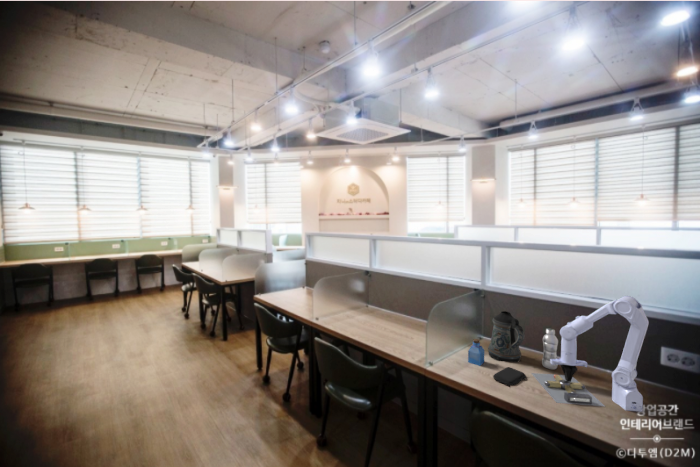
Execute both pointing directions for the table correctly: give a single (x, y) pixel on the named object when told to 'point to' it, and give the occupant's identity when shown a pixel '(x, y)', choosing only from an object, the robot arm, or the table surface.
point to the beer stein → (506, 338)
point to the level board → (559, 393)
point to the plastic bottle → (549, 348)
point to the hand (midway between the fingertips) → (568, 380)
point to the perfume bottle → (476, 353)
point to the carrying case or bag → (509, 376)
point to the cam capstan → (564, 384)
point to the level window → (578, 398)
